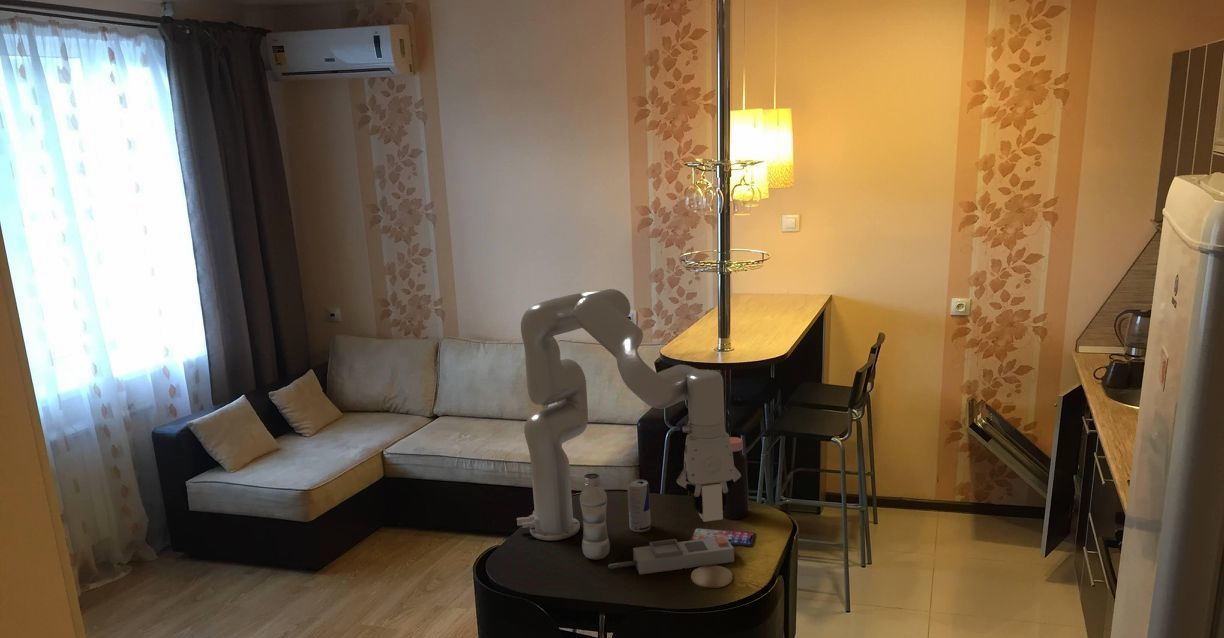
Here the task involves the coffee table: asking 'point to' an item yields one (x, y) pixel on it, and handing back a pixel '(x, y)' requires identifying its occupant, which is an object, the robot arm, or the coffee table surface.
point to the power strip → (680, 555)
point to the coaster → (711, 576)
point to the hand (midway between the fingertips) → (710, 509)
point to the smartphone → (733, 536)
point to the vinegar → (737, 485)
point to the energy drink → (639, 505)
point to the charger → (711, 501)
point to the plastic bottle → (594, 518)
